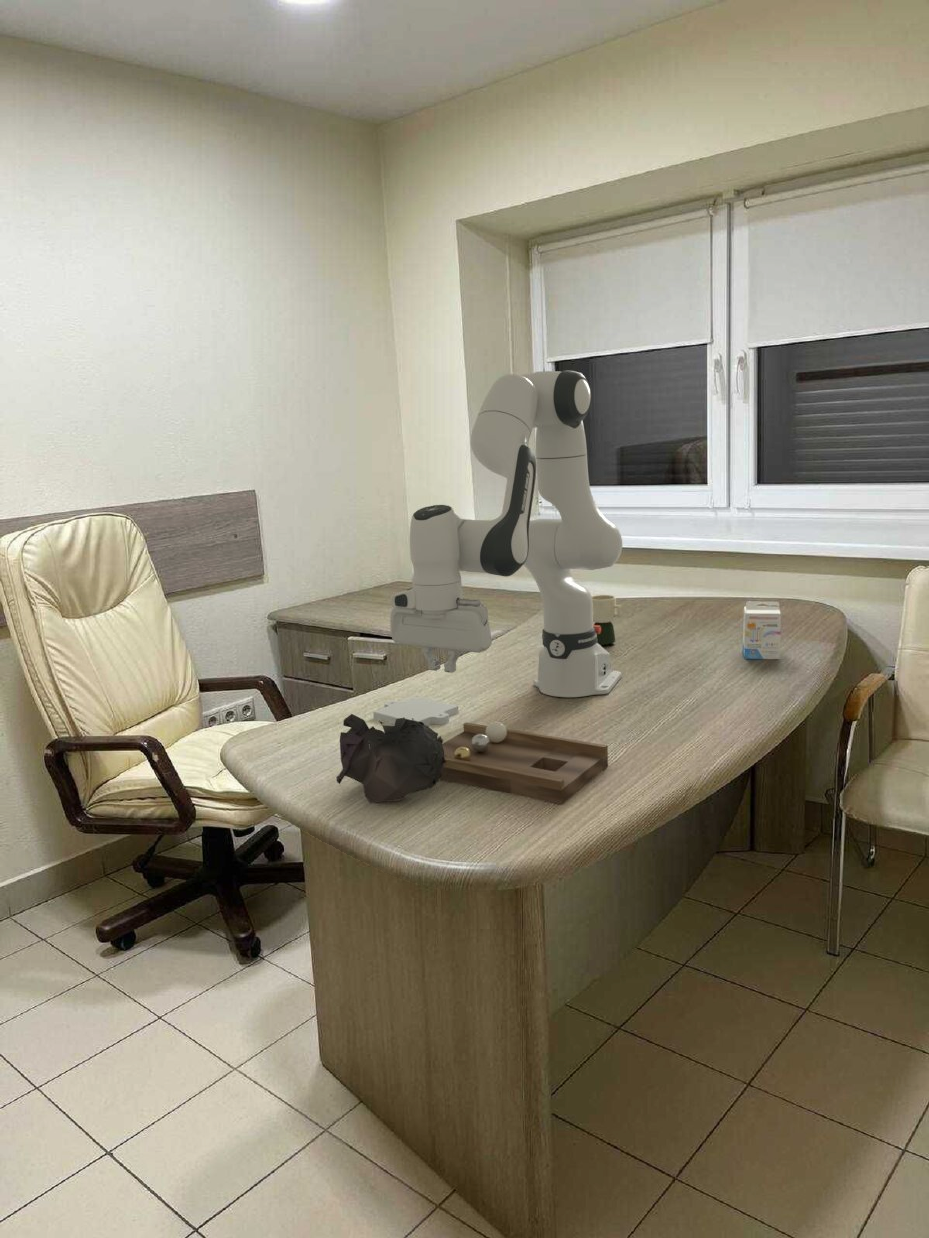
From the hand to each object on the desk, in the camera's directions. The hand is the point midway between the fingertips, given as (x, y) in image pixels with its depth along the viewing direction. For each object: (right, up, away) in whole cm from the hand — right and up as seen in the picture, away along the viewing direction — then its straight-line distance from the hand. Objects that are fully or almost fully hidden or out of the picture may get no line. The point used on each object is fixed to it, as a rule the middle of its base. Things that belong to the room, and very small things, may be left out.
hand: (442, 670), depth 167 cm
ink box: (+78, 0, +61) cm, 99 cm away
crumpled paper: (-7, -21, -12) cm, 25 cm away
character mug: (+42, +2, +80) cm, 90 cm away
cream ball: (+10, -12, +3) cm, 16 cm away
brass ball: (+4, -15, -6) cm, 16 cm away
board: (+12, -18, -4) cm, 22 cm away
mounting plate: (-6, -12, +30) cm, 33 cm away
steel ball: (+7, -13, -1) cm, 15 cm away
